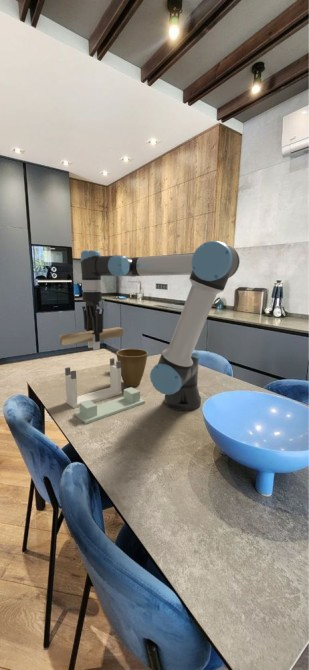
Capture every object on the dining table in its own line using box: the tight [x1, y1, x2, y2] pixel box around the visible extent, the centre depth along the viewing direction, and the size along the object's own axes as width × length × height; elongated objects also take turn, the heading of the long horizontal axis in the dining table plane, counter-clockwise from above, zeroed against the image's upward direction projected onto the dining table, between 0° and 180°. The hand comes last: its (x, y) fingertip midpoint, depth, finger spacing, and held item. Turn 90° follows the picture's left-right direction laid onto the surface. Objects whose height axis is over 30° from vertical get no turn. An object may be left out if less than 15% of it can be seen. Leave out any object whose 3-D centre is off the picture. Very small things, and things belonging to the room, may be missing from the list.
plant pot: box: [115, 348, 149, 388], centre depth 136 cm, size 15×15×16 cm
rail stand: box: [64, 357, 123, 409], centre depth 120 cm, size 7×23×15 cm, turn 131°
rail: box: [59, 326, 124, 346], centre depth 116 cm, size 4×27×4 cm, turn 131°
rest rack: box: [73, 387, 146, 425], centre depth 111 cm, size 9×27×5 cm, turn 131°
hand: (94, 348), depth 117 cm, fingers closed on rail, 3 cm apart
